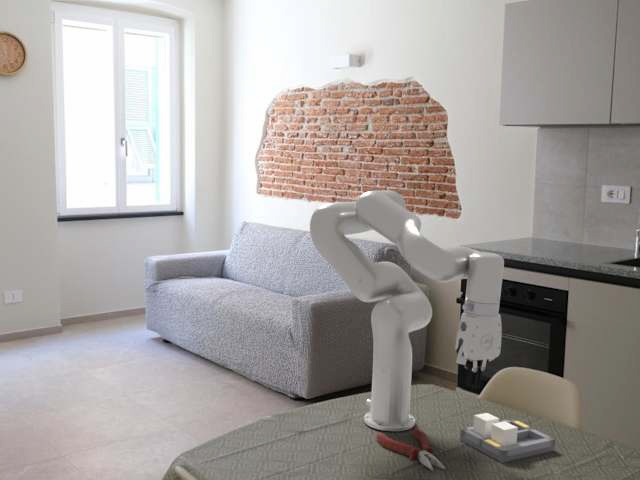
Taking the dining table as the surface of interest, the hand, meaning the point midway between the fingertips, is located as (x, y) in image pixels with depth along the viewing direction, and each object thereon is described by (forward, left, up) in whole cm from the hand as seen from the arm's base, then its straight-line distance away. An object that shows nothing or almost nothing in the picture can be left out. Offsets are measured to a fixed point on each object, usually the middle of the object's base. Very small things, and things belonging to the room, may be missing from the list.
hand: (472, 386), depth 168 cm
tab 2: (+6, +5, -13) cm, 15 cm away
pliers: (-4, -14, -15) cm, 21 cm away
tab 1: (0, +5, -13) cm, 14 cm away
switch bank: (+3, +9, -14) cm, 17 cm away
